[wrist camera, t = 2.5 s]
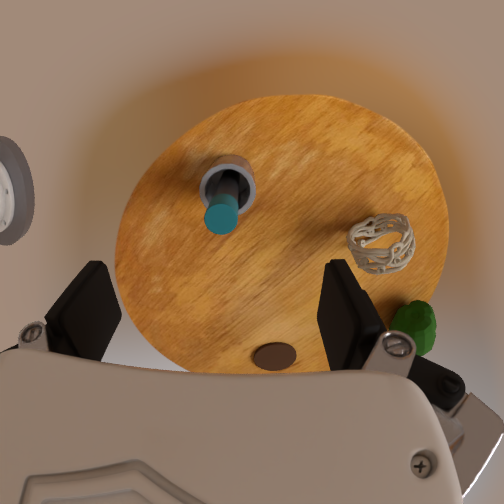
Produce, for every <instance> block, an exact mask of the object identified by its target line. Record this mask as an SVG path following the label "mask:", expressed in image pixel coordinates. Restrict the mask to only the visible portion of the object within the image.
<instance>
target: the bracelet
mask: <svg viewBox="0 0 504 504" xmlns="http://www.w3.org/2000/svg"><path fill="white" fill-rule="evenodd" d="M382 217H384V218H382ZM379 218H381V219H379ZM378 219H379V220H378ZM391 219H395V220H397V221H398V222H395V221H387V220H391ZM370 221H372V222H373V223H372V224H371V225H370V226H365V225H366V224H367V223H369V222H370ZM384 221H385V222H384ZM381 222H382V223H381ZM379 223H381V224H379ZM376 224H378V225H376ZM387 224H394V225H393V227H387ZM379 227H381V230H380V231H377V232H375V231H374V229H377V228H379ZM362 230H364V231H362ZM359 231H362V232H359ZM396 231H397V232H399V233H401V234H402V237H401V240H400V242H396V243H394V244H392V245H391V246H390V247H389V248H388V249H378V248H375V249H368V248H363V247H364V246H366V245H367V244H369V243H371V242H373V241H375V240H377V239H378V238H380V237H381V236H383V235H385V234H388V233H391V232H396ZM366 232H368V233H366ZM360 236H366V237H372V238H370V239H368V240H366V241H365V240H363V239H359V240H358V242H357V244H358V245H359V246H358V245H356V242H355V241H354V237H360ZM373 236H374V237H373ZM346 238H347V242H348V243H349V244H348V247H349V249H350V251H351V253H352V255H353V257H354V260H355V262H356V264H357V265H358V268H362V269H363V270H364V271H366V272H367V273H371V274H376V275H378V274H386V273H388V274H389V273H394V272H397V271H400V270H402V269H403V268H404V267H405V266H406V265H407V263H408V262H409V261H410V259H411V258H412V256H413V254H414V250H415V247H416V246H415V238H414V234H413V229H412V227H410V224H409V219H408V218H407V216H404V215H403V214H399V213H397V214H387V213H383V214H378V215H377V216H376V217H375V218H374V217H368V218H367V219H365V220H364V221H363V222H361V223H357V224H355V225H354V226H352V227H351V229H350V230H349V232H348V234H347V236H346ZM405 238H406V239H405ZM404 240H405V241H404ZM409 245H410V246H409ZM396 247H397V251H396V252H394V249H395V248H396ZM403 254H405V256H404V258H403V259H400V257H399V256H401V255H403ZM377 256H387V257H385V258H380V257H377ZM366 257H368V258H369V259H371V260H373V261H375V262H374V263H368V262H369V260H368V258H366ZM360 259H361V260H360ZM392 261H393V262H392ZM387 265H388V266H391V267H394V268H389V269H385V266H387ZM376 267H378V269H377V270H373V269H370V268H376Z"/></svg>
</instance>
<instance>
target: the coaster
mask: <svg viewBox="0 0 504 504" xmlns="http://www.w3.org/2000/svg"><path fill="white" fill-rule="evenodd" d="M295 360H296V351H295V349H294V348H293V347H292V346H290V345H288V344H285V343H269V344H266V345H264V346H262V347H260V348H259V349H258V350H257V351H256V352H255V355H254V361H255V364H256V365H257V366H258V367H260V368H262V369H264V370H269V371H277V370H282V369H285V368H287V367H289V366H290V365H292V364H293V363H294V361H295Z"/></svg>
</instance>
